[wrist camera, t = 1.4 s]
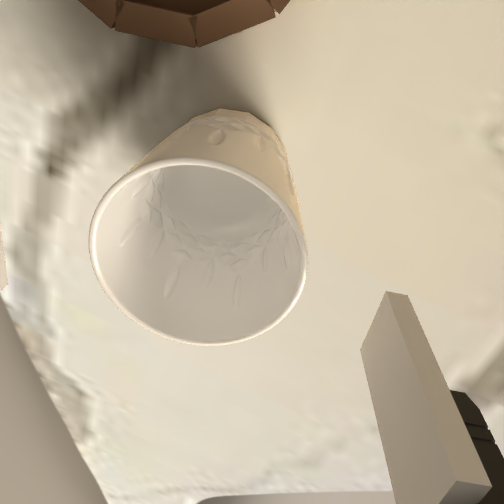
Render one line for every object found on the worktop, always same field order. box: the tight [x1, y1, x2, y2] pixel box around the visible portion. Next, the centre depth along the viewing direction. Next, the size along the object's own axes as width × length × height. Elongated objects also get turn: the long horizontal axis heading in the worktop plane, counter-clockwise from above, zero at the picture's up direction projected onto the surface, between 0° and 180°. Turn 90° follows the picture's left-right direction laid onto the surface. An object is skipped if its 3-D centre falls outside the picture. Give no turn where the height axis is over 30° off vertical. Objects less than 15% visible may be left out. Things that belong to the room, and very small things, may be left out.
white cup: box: [89, 108, 308, 346], centre depth 19 cm, size 8×8×10 cm
